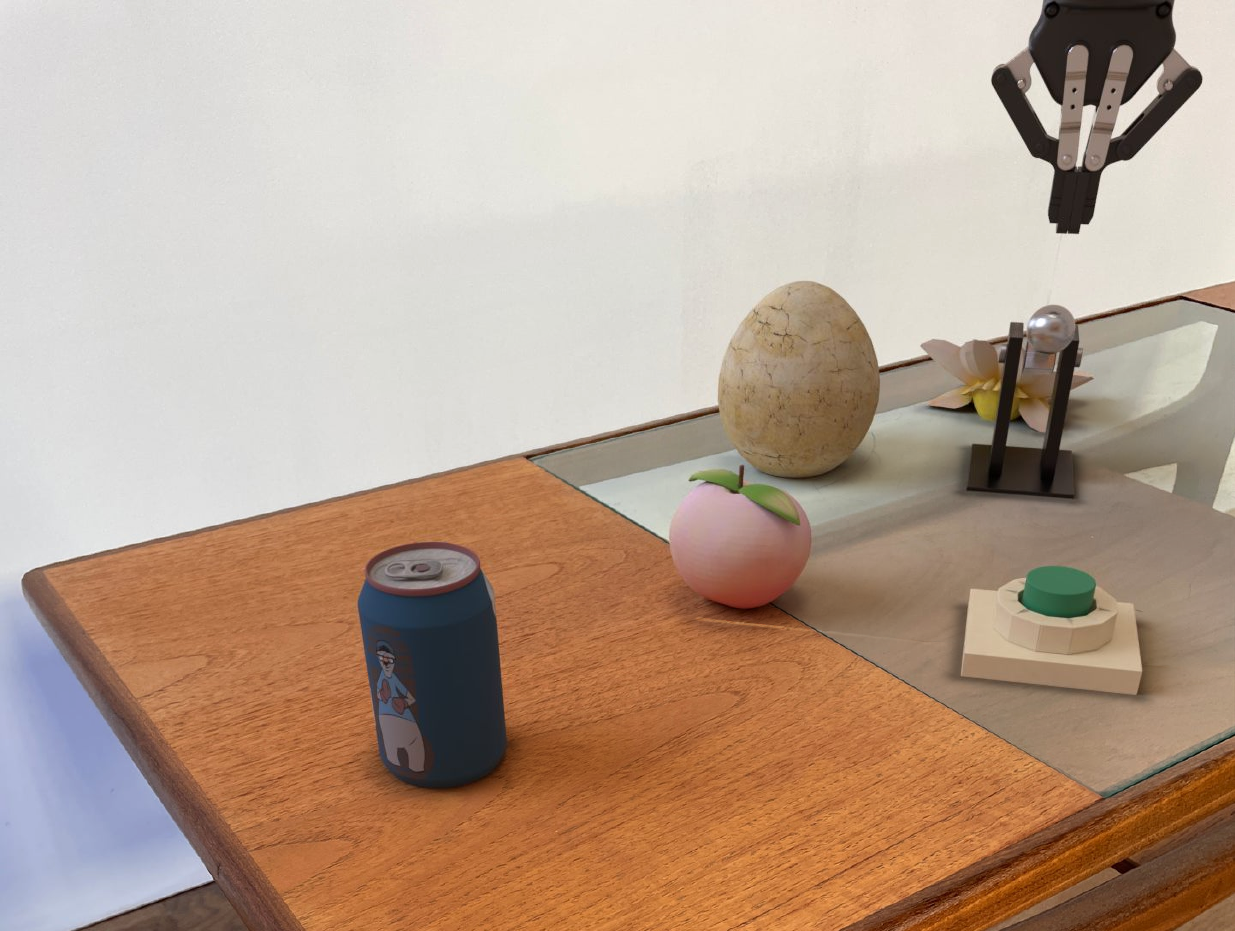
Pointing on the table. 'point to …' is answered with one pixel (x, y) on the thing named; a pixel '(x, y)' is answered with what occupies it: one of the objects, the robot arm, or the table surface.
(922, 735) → the table surface
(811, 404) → the fossilized egg
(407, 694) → the soda can
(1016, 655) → the button block
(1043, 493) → the black metal frame
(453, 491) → the table surface
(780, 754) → the table surface
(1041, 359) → the tap lever
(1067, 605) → the green push button
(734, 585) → the decorative fruit
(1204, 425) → the table surface
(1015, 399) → the decorative flower
